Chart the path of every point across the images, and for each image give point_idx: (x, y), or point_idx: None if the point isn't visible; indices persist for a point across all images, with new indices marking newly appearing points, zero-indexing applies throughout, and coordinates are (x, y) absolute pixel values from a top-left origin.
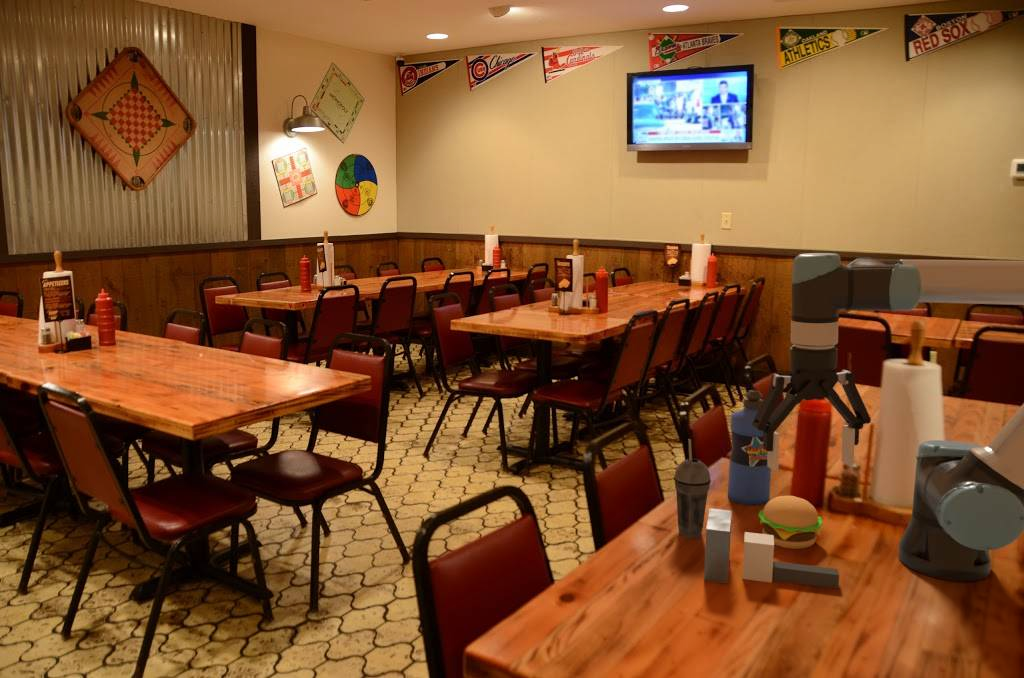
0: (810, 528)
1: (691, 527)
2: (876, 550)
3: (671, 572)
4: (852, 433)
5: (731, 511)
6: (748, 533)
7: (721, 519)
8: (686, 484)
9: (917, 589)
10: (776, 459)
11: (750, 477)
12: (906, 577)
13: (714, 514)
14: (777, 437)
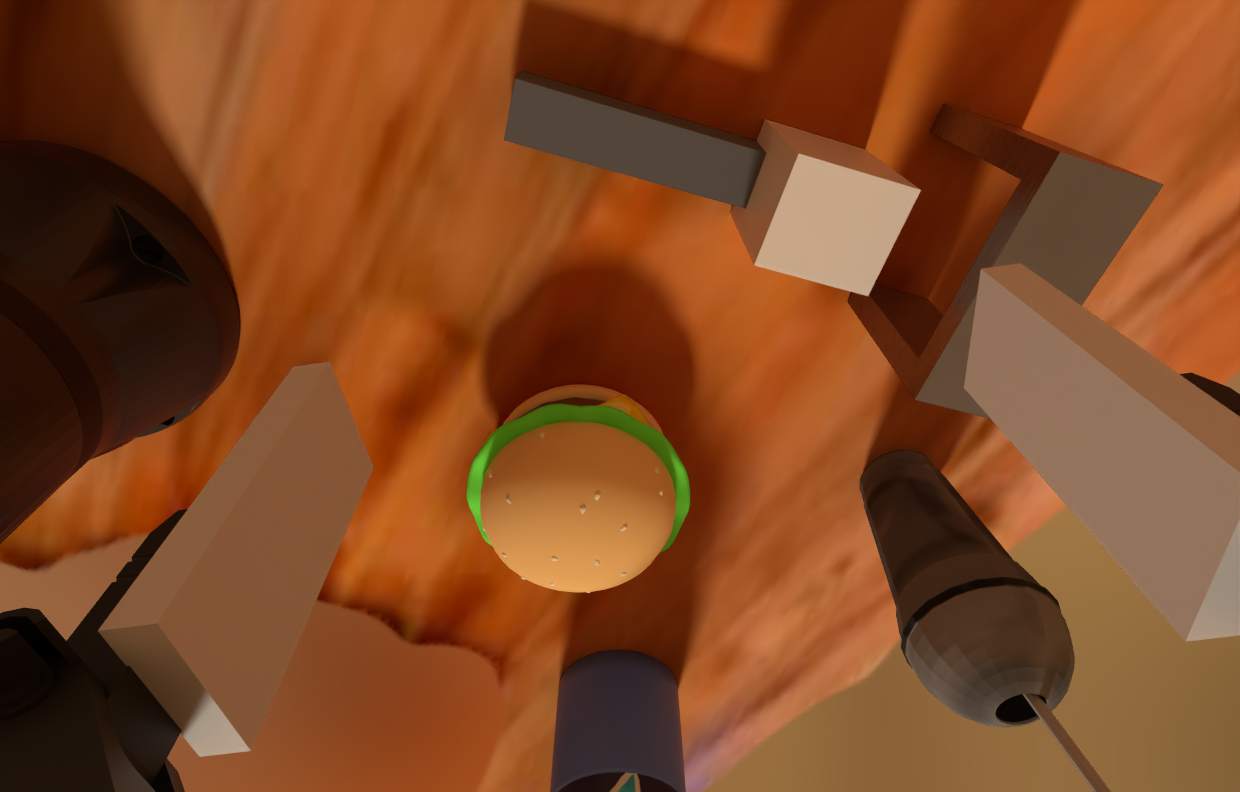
0: (532, 416)
1: (926, 471)
2: None
3: None
4: (164, 579)
5: (920, 390)
6: (858, 280)
7: None
8: (1038, 587)
9: (212, 72)
10: (1060, 312)
11: (633, 733)
12: (238, 176)
13: None
14: (1235, 452)
